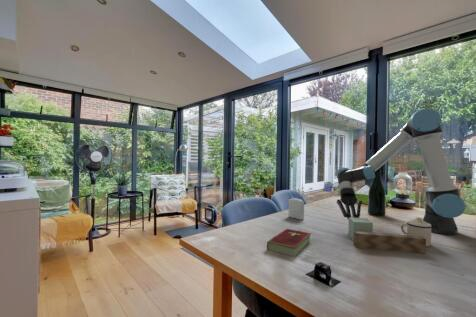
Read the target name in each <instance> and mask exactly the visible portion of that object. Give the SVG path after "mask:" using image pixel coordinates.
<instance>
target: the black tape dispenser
mask: <svg viewBox="0 0 476 317" xmlns="http://www.w3.org/2000/svg"><path fill="white" fill-rule="evenodd" d="M313 268H314V269H313V270H311V271H309V272H307V273H305V275H306V276H307V277H309V278H311V279H313V280H315V281H317V282H320V283H321V284H323V285H325V286H327V287H329V288H331V289H332V288H334V287H336V286H337V285H339V284H340V283H342V281H341V280H339V279H338V278H335V277H332V269H331V265H329V264H326V263H324V262H322V261H319V262H317V263H314V267H313Z"/></svg>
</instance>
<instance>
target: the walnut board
mask: <svg viewBox="0 0 476 317" xmlns="http://www.w3.org/2000/svg"><path fill="white" fill-rule="evenodd" d="M353 245H354V247H355V248H360V249H370V250H371V249H372V250H381V251H390V252H404V253H412V254H413V253H414V254H415V253H416V254H422V255H423V254H425V255H426V253H427V249H426V239H425V238H424V237H422V236H410V235H406V234H397V233H396V234H394V233H384V232H383V233H382V232H373V233H371V232H359V231H354V241H353Z"/></svg>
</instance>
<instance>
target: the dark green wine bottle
mask: <svg viewBox="0 0 476 317" xmlns="http://www.w3.org/2000/svg"><path fill="white" fill-rule="evenodd" d="M374 174H375V178H372V182H371V185H370V187H369V188H368V198H367V199H368V200H367V214H369V216H370V215H371V216H374V217H375V216H376V217H384V216H386V213H387V212H386V206H387V204H386V196H387V195H386V189H385V187H384V183H383V182H382V169H381V167H380V168H379V169H378V170H376V171H375V172H374Z"/></svg>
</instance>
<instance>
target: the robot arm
mask: <svg viewBox="0 0 476 317" xmlns="http://www.w3.org/2000/svg"><path fill="white" fill-rule="evenodd" d="M441 124H442V116H441V114H440V113H439V111H437V110H436V109H433V108H421V109H418V110H417V111H415V112H414V113H413V114H412V115H411V116H410V117H409V119H408V121H407V122H406V123H405V124H404V126H403V127H401V128H400V129H399V132H398V133H397V134H396V135H394V137H393V138H392V139H390V140H389V141H388V142H386V144H384V145H383V147H381V148H380V149H379V150H377V152H376V153H375V154H374V155H372V156H370V158H369V159H368V160H367V161H365V163H363V164H362V165H361V166H360V167H358V168H354V169H353V168H352V169H350V168H348V167H340V168H339V169H337V171H336V178H337V182H338V189H339V195H340V199H336V205H338V207H339V209H340V211H341V213H342V215H343V217H344V218H347V220H348V222H349V217H352V218H361V217H360V216H361V208H362V204H363V201H362V200H358V198H357V196H356V191H355V188H354V187H355V186H354V183H357V182H362V181H368V180H373V178H375V174H374V172H375V171H376V170H378V169H379V168H380V169H381V168H382V166H383V165H385V164H386V163H388V161H389V160H391V159H392V158H393V157H394V156H396V155H397V154H398V153H400V151H401V150H403V149H404V148H405V147H406V146H407V145H408V144H410V143H411V142H415V141H417V142H418V147H419V150H420V153H421V158H422V161H423V165H424V168H425V169H424V170H425V173H426V177H427V180H428V184H429V187H426V188H425V192H424V194H425V196H424V197H425V198H424V199H425V203H424V206H425V207H424V211H425V212H424V215H423V218H422V220H423V221H425V222H426V223H429V224H431V225H432V228H431V233H436V234H442V235H449V236H451V235H452V236H453V235H458V233H459V228H458V226H457V224H456V221H455V219H454V218H457V217H460V216H462V215H463V214H464V213H465V211H466V203H465V201H464V200H463V198H462V197H461V194H460V192H459V187H457V186H455V185H454V184H453V181H452V178H451V177H452V176H451V173H450V170H449V166H448V163H447V158H446V156H445V151H444V148H443V144H442V141H441V135H442V134H443V133H444V132H443V129H442V126H441ZM343 204H344V205H343ZM355 205H356V206H357V207H355ZM356 209H357V210H356Z"/></svg>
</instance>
